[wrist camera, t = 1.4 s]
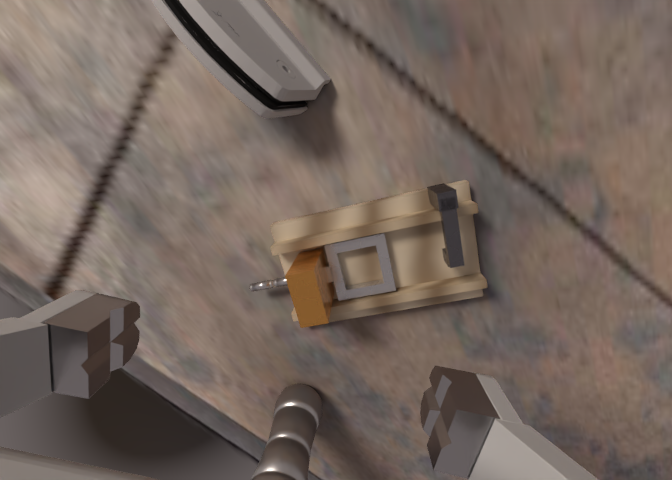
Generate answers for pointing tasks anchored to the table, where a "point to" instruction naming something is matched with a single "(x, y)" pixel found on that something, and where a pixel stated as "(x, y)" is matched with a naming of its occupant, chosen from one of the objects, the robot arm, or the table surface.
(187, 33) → the grey rounded slab
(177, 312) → the table surface
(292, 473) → the plastic bottle
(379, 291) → the chain end link
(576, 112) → the table surface
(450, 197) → the keeper hook
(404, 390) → the table surface
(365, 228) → the guide board
